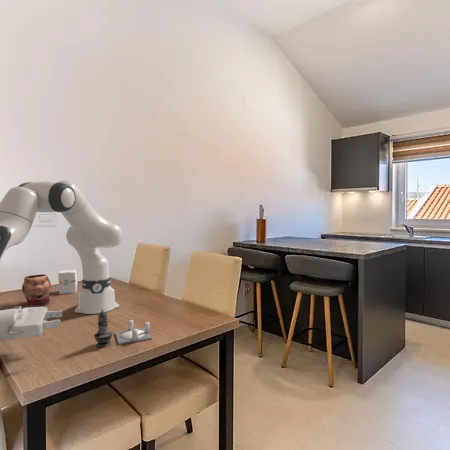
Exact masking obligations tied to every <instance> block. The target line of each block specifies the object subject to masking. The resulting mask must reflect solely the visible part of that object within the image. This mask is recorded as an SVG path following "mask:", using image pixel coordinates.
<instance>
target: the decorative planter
mask: <svg viewBox="0 0 450 450" xmlns="http://www.w3.org/2000/svg"><path fill="white" fill-rule="evenodd" d="M23 279H24V281H23V283H22V285H21V291H22V294H23V296H24V297H25V300H26V305H27V307H42V306H45V305H49V304H50V301H51V300H50V298H51V297H50V295H49V294H50V291H51V289H52V284H51V281H50V279H49V276H48V275H47V274H43V273H41V274H33V275H28V276H25V277H24V278H23Z"/></svg>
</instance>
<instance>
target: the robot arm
mask: <svg viewBox="0 0 450 450" xmlns="http://www.w3.org/2000/svg"><path fill="white" fill-rule="evenodd" d="M37 213H60V214H62V216H63V217H64V219H65V220H66V221H67V222H68V224H69V225H70V226H69V227H68V229H67V230H66V234H65V235H66V236H65V237H66V240H67V241H66V242H68V244H69V245H70V246H71V247H72V248H74V249H75V251H76V252H77V255H78V256H79V258H80V262H81V267H82V269H81V270H82V279H81V287H82V289H81V291H80V292H79V293H78V296H77V298H78V300H79V301H78V305H77V306H76V308H75V309H74V313H78V314H79V313H80V314H85V315H86V314H87V315H95V314H99V313H100V312H102V311H101V310H102V309H103V310H104V312H106V313H107V312H110V311H112V310H114V309H117V308H120V304H119V303H118V302H116V299H115V298H116V297H115V296H116V294H115V289H113V287H112V286H111V284H112V283H111V282H112V280H111V277H110V265H109V260H108V259H107V257H106V256H104V255H102V253H101V252H100V251H99V249H108V248H109V249H110V248H113V247H118V246H120V245H121V243H122V241H123V239H124V238H123V237H124V233H123V230H122V227H120V226H119V225H118V224H115V223H112V222H111V221H109V220H108V219H105V218H104V217H103V216H101V215H100V214H99V213H98V212H96V210H95V209H94V208H93V207H92V205H91V204H90V202H89V201H88V199H87V198H86V196H85V195H84V192H82V190H80V188H79V187H77V185H76V184H75V183H74V182H73V181H70V180H65V179H63V180H60V181H57V182H54V181H35V182H33V181H28V182H24V183H21V184H19V185H17V186H14V187H12V188H10V189H9V190H8V191H7V193H5V195H4V197H3V198H1V201H0V261H1V259H2V257H3V255H4V254H5V253H6V251H8V250H9V249H10V248H12V247H14V246H17V245H19V244H21V243H23V242H24V240H25V239H26V237H27V236H28V235H29V232H30V231H31V228H32V226H33V224H34V221H35V218H36V214H37ZM62 317H63V310H48V307H46V306H26V307H23V308H22V306H14V307H12V308H9V309H8V308H7V309H3V310H2V309H1V310H0V342H1V341H8V340H16V339H25V338H36V337H39V336H41V335H43V332H44V330H49V329H51V328H55V327H60V326H61V323H62V320H61V319H60V318H62ZM53 318H56V319H54V320H49V321H48V319H53Z"/></svg>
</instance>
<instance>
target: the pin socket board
mask: <svg viewBox="0 0 450 450" xmlns="http://www.w3.org/2000/svg"><path fill="white" fill-rule="evenodd" d="M127 322H128V324H127V325H128V326H127V327H128V330H122V331H121V330H119V331H115V332H114V334H115V337H116V341H117V344H118V345H125V344H131V343H132V344H133V343H138V342H144V341H150V340H153V339H152V336H151V332H150V331H151V327H150V323H151V322H149V321H146V322H144V327H139V328H134V320H133V319H130V320H128V321H127Z"/></svg>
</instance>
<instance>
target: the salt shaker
mask: <svg viewBox="0 0 450 450" xmlns="http://www.w3.org/2000/svg"><path fill="white" fill-rule="evenodd" d="M101 311H102V312H100V313H97V314H98V315H97V317H98V319H97V326H98V330H97V332H96V333H95V334H93V336H94V338H95V341H96V342H97V343H95V346H94V347H96V348H99V349H102V348H108V347H110V346H111V345H113V342H112V341H111V339H112V335H113V332H112V331H111V330H109V327H108V324H109V321H108V313H107V312H104V310H103V309H102V310H101Z"/></svg>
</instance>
